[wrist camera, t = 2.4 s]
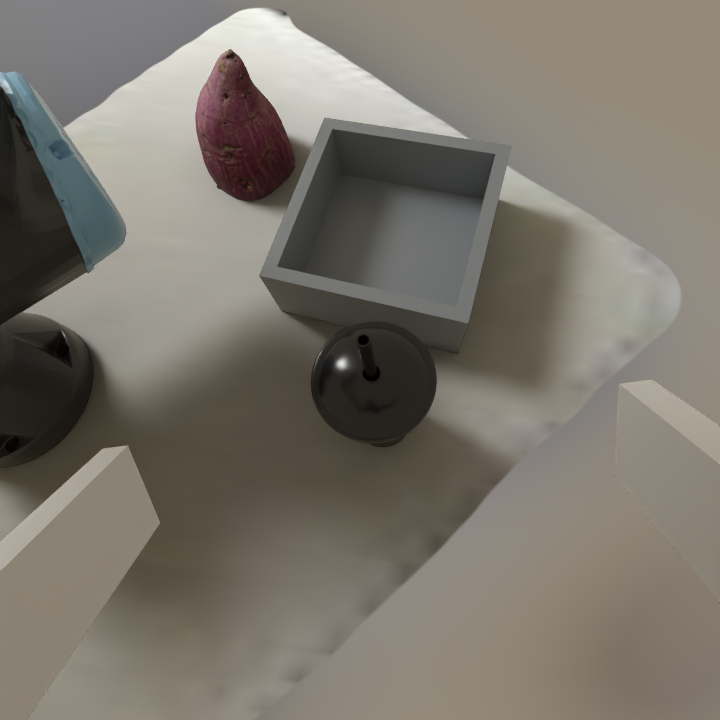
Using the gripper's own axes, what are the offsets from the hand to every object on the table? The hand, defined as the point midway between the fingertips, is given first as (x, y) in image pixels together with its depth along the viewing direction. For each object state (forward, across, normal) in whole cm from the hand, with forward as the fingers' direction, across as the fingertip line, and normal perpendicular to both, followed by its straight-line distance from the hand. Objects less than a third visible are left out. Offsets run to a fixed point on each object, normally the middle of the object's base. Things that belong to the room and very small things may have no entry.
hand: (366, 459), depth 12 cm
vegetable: (+44, -13, +12) cm, 48 cm away
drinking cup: (+24, -1, -12) cm, 27 cm away
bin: (+35, +1, +1) cm, 35 cm away
